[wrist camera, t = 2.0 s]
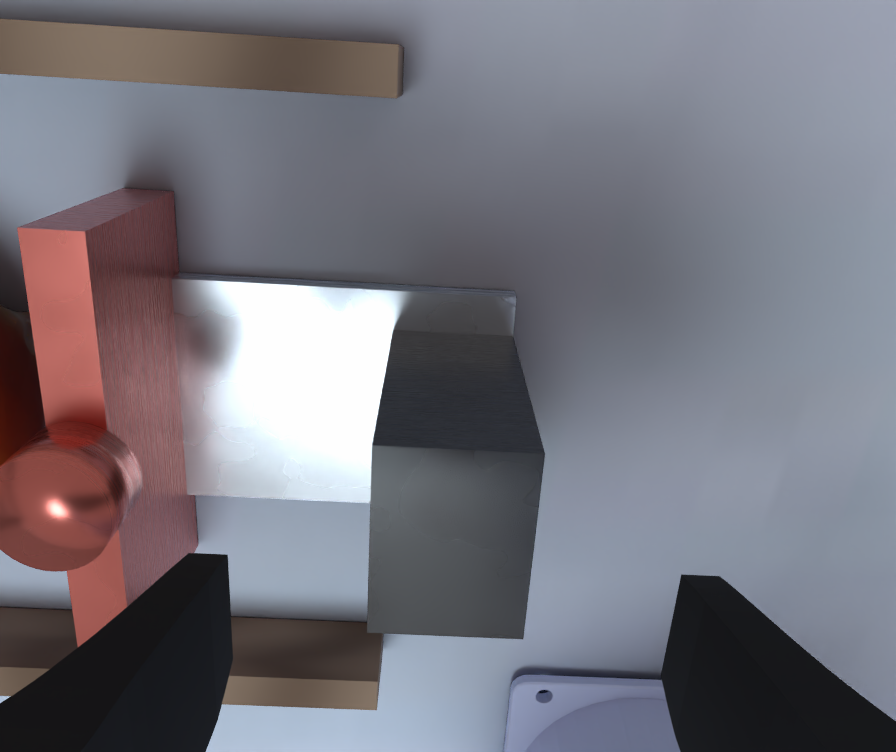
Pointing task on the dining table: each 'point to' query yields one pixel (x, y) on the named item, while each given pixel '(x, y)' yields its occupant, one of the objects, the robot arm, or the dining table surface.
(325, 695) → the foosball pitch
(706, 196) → the dining table surface
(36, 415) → the fruit
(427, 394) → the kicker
